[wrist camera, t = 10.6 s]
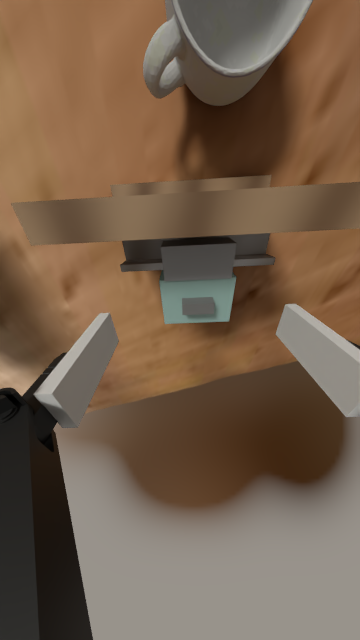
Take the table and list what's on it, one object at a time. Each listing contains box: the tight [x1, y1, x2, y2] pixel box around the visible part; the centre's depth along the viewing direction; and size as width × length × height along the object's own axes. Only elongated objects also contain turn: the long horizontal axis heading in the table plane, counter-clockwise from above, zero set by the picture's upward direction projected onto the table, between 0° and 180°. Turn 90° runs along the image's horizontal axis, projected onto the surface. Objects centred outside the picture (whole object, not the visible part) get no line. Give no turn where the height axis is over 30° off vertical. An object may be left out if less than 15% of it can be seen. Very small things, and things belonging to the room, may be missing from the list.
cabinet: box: [159, 237, 237, 324], centre depth 19 cm, size 7×9×10 cm
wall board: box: [11, 175, 360, 272], centre depth 16 cm, size 20×8×18 cm, turn 93°
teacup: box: [143, 0, 313, 106], centre depth 13 cm, size 14×11×8 cm
